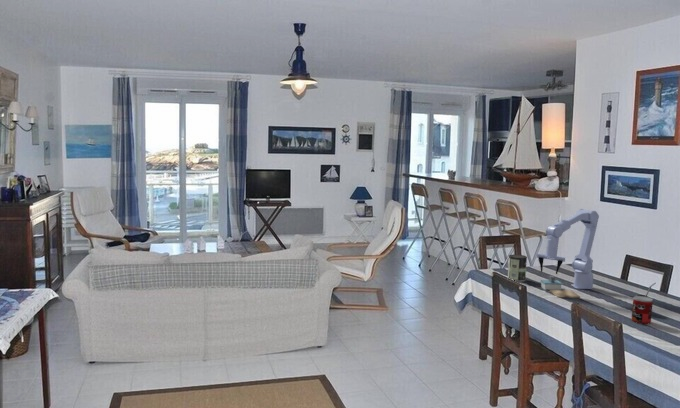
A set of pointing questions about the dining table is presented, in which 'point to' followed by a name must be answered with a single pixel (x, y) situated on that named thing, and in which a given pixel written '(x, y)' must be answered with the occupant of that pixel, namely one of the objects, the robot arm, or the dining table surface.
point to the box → (550, 286)
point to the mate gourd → (647, 292)
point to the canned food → (642, 309)
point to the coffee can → (517, 267)
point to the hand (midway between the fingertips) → (548, 272)
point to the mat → (564, 293)
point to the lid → (551, 281)
